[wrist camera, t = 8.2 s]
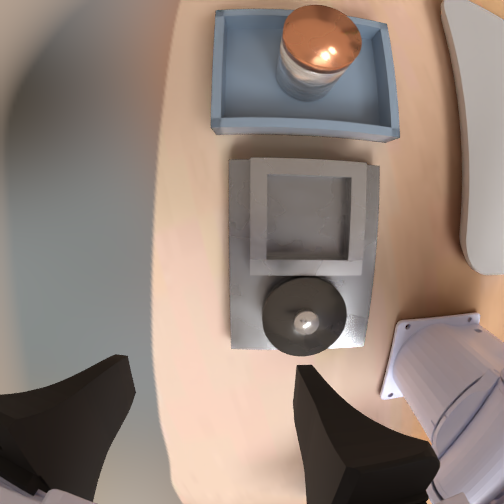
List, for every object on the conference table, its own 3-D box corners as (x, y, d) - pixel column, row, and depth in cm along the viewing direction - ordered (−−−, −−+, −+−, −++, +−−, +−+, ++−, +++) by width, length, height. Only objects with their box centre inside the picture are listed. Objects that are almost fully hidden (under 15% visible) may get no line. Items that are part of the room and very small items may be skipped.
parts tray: (375, 37, 17) (386, 24, 15) (385, 142, 19) (399, 137, 17) (220, 26, 18) (215, 10, 15) (216, 134, 19) (210, 127, 17)
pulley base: (373, 166, 20) (392, 163, 16) (359, 339, 22) (372, 360, 19) (230, 161, 20) (225, 156, 17) (232, 341, 22) (228, 364, 19)
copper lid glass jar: (331, 55, 17) (357, 11, 11) (333, 104, 18) (364, 72, 12) (275, 50, 17) (282, 1, 11) (275, 100, 18) (283, 63, 12)
